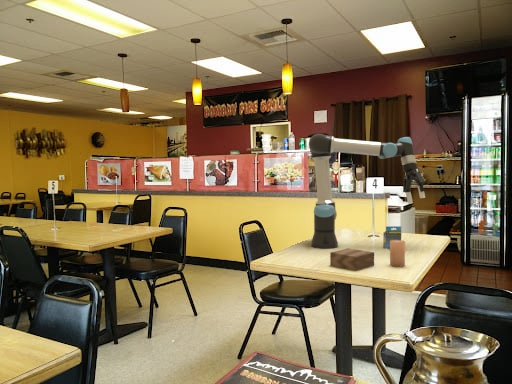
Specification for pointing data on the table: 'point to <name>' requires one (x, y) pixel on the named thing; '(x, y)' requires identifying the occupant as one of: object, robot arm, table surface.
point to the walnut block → (352, 259)
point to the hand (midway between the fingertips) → (416, 200)
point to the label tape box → (391, 235)
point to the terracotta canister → (397, 253)
